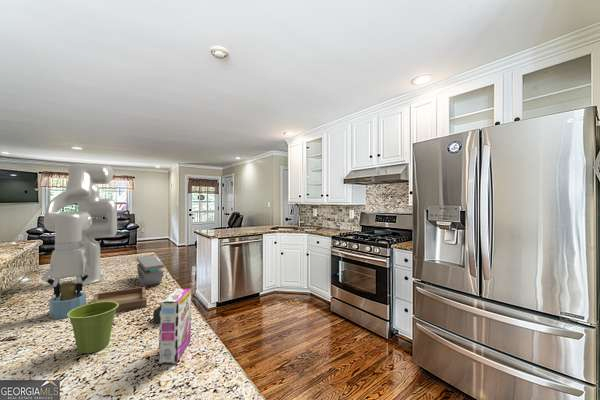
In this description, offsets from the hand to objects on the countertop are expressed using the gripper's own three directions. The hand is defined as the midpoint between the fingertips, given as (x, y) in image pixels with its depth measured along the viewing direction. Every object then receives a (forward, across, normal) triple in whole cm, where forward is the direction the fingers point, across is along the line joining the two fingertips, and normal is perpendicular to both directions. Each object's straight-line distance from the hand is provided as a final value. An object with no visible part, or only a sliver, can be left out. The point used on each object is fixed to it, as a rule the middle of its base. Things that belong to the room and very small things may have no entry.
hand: (68, 294), depth 98 cm
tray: (+7, -16, 0) cm, 17 cm away
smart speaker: (+7, -31, +24) cm, 40 cm away
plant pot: (+7, -11, +33) cm, 36 cm away
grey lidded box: (+7, -28, -26) cm, 38 cm away
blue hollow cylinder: (+7, 0, 0) cm, 7 cm away
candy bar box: (+7, -31, +48) cm, 58 cm away
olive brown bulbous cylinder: (+7, 0, 0) cm, 7 cm away
